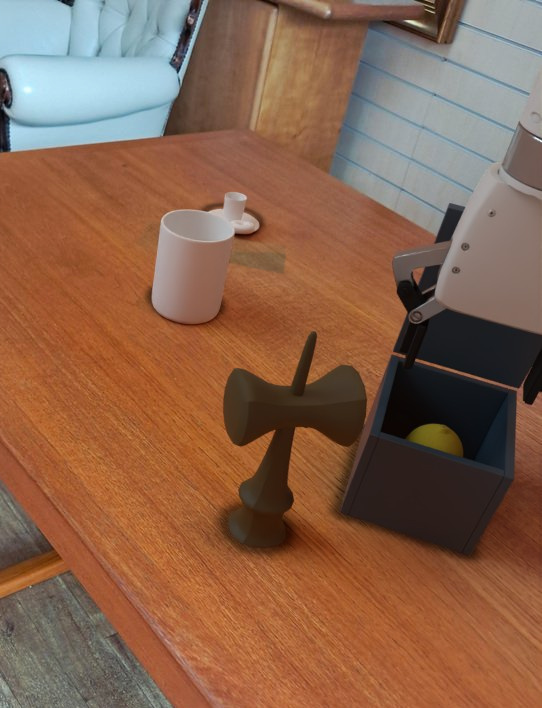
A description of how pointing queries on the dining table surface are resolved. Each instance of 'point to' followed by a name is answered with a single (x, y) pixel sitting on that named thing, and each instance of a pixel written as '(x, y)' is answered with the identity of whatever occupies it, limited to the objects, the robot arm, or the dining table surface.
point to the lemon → (437, 438)
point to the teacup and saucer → (237, 213)
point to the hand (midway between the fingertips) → (467, 378)
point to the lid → (472, 333)
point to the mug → (191, 265)
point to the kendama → (285, 435)
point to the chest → (434, 456)
